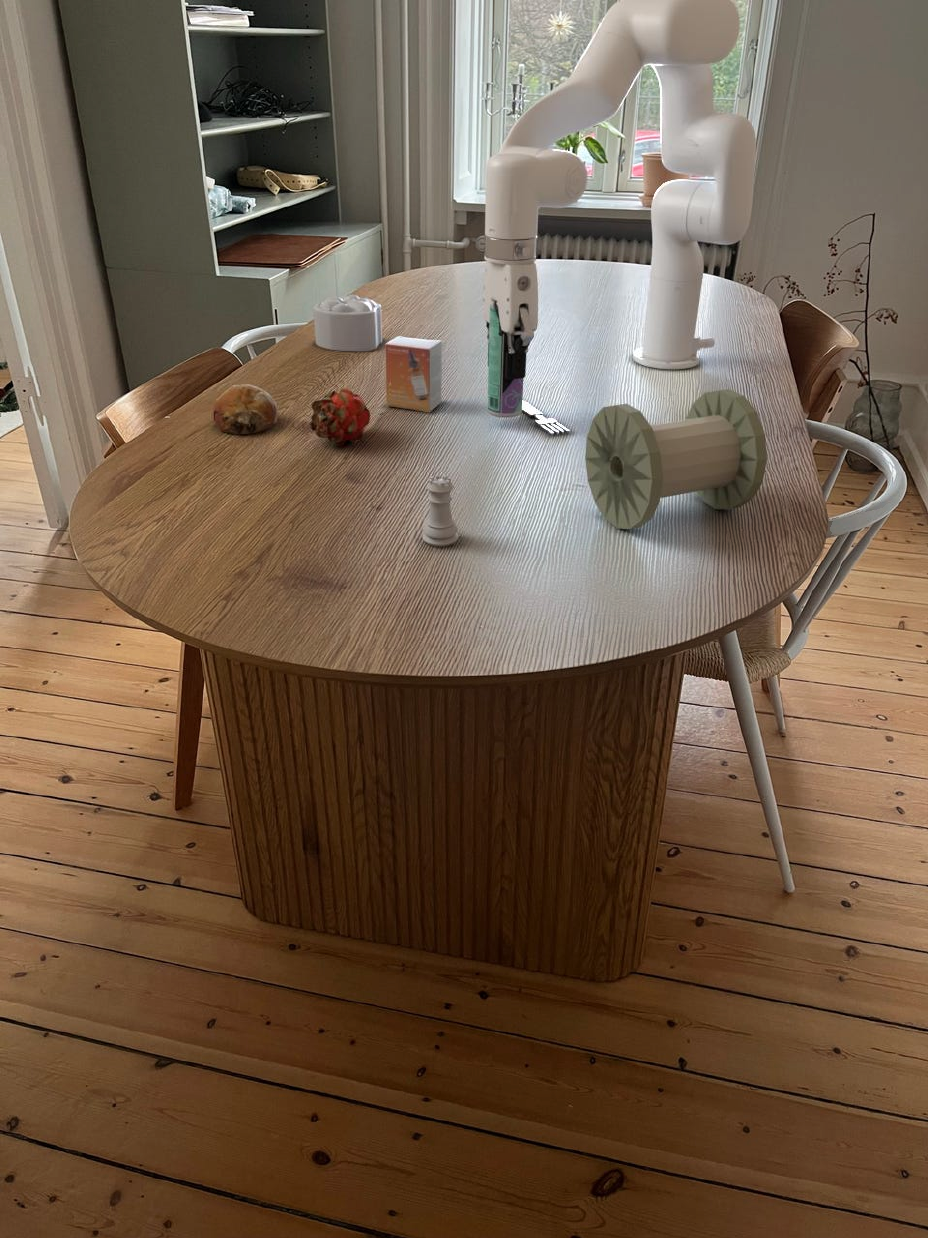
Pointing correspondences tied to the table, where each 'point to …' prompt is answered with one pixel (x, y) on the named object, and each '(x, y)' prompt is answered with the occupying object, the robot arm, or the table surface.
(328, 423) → the dragon fruit
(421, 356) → the small box
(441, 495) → the rook chess piece
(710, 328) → the table surface
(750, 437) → the spool
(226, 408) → the bread roll
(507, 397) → the spray can
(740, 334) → the table surface
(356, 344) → the lumpy-topped squat cylinder
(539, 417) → the fork
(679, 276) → the robot arm
